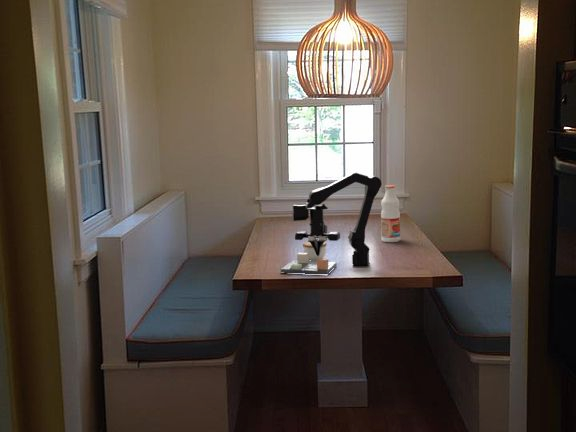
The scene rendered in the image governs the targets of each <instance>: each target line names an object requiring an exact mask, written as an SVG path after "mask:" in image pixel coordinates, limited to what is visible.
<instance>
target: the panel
mask: <svg viewBox="0 0 576 432" xmlns="http://www.w3.org/2000/svg"><path fill="white" fill-rule="evenodd" d="M292 264H302V269H301V270H298V269H291V265H292ZM336 266H338V265H337V261H328V269H327V270H322V269H317V261H309V260H308V263H297V260H291V261H290V262H288V263H287V264H285V265H284V266H283V267H282V268H280V273H281V272H284V273H305V274H328V273H329V272H330V271H331V270H332V269H333V268H335V267H336ZM336 268H337V267H336ZM336 268H335V269H336ZM330 273H331V272H330ZM330 273H329V274H330ZM329 274H328V275H329Z"/></svg>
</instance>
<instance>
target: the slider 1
mask: <svg viewBox="0 0 576 432" xmlns="http://www.w3.org/2000/svg"><path fill="white" fill-rule="evenodd" d="M296 259H297V263H308V261H309V260H308V253H304V252H298V253H297V254H296Z"/></svg>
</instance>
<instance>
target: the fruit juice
mask: <svg viewBox="0 0 576 432" xmlns="http://www.w3.org/2000/svg"><path fill="white" fill-rule="evenodd" d="M384 189H385V193H384V196H383V198H382V199H381V201H380V205H381V213H380V223H381V224H380V231H381V232H380V233H381V234H380V235H381V237H380V238H381V242H384V243H397V242H400V241H401V212H400V200H399V198H398V197H397V195H396V192H395V191H396V186H395V184H394V185H393V184H386V185H384Z"/></svg>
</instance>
